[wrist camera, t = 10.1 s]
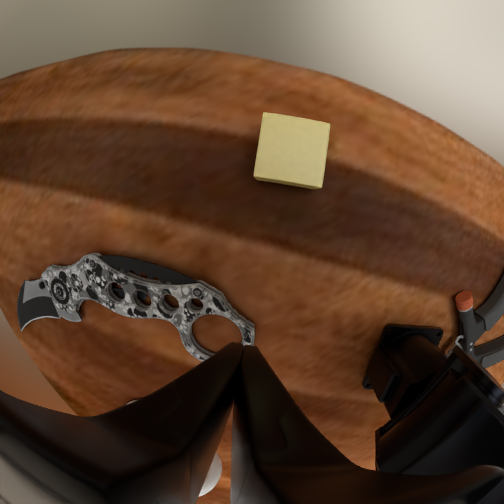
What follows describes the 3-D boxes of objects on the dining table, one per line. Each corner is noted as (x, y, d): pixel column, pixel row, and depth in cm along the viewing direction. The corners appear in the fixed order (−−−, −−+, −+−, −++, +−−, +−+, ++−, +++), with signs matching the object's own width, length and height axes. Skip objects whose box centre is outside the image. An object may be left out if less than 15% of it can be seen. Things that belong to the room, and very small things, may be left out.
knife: (18, 333, 22) (-4, 253, 19) (25, 327, 23) (5, 249, 21) (254, 379, 20) (254, 259, 17) (255, 367, 21) (255, 253, 19)
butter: (321, 134, 17) (330, 123, 14) (314, 189, 18) (322, 188, 15) (264, 124, 17) (263, 111, 14) (256, 180, 18) (253, 176, 15)
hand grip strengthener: (533, 244, 15) (431, 305, 17) (525, 346, 16) (430, 411, 18) (519, 241, 17) (418, 295, 19) (515, 339, 19) (422, 398, 21)
